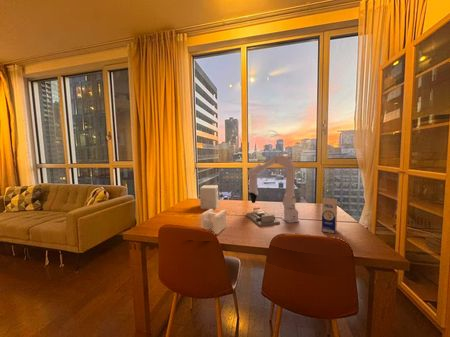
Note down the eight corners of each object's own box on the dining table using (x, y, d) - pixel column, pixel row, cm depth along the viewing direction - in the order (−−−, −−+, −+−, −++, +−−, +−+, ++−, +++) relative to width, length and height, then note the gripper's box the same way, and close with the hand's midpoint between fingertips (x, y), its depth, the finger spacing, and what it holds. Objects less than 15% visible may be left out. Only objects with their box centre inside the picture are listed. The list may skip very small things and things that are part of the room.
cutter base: (279, 223, 135) (279, 215, 135) (259, 226, 132) (259, 218, 131) (263, 213, 158) (263, 205, 158) (246, 215, 155) (245, 207, 154)
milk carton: (321, 231, 122) (322, 197, 120) (323, 227, 127) (324, 195, 125) (335, 234, 118) (336, 198, 116) (336, 230, 123) (337, 196, 121)
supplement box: (219, 204, 185) (218, 185, 183) (216, 209, 172) (215, 187, 170) (204, 204, 187) (203, 185, 185) (200, 208, 174) (199, 187, 172)
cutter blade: (265, 216, 146) (265, 211, 145) (258, 217, 144) (258, 211, 144) (259, 212, 154) (259, 207, 154) (253, 213, 153) (253, 208, 153)
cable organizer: (212, 225, 137) (211, 207, 136) (227, 227, 133) (227, 209, 131) (200, 234, 123) (200, 214, 122) (217, 236, 119) (216, 216, 118)
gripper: (244, 183, 163) (245, 200, 164) (251, 186, 149) (252, 205, 150) (253, 183, 165) (253, 200, 166) (261, 186, 151) (261, 204, 152)
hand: (253, 202), depth 158 cm, fingers closed
